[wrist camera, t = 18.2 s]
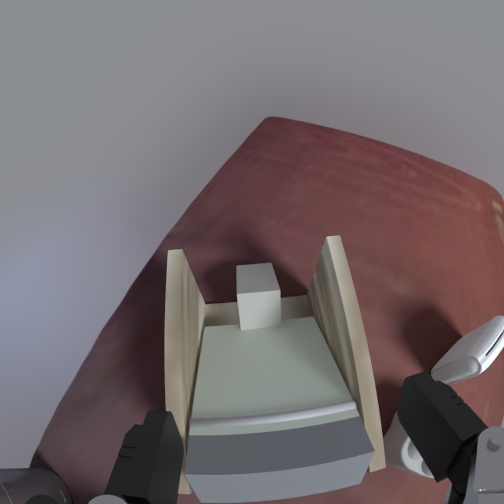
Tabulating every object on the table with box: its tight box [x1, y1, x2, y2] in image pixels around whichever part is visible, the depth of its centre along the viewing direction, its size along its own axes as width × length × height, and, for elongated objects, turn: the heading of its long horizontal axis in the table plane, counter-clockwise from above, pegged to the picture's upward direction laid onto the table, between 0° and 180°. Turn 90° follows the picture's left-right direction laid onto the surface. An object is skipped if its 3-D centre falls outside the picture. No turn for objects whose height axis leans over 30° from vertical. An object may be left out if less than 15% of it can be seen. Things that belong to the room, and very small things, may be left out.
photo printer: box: [431, 316, 504, 385], centre depth 31 cm, size 10×4×12 cm, turn 119°
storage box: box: [165, 236, 386, 494], centre depth 30 cm, size 18×24×16 cm
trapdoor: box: [184, 316, 375, 503], centre depth 27 cm, size 14×22×6 cm
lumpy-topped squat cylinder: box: [383, 411, 434, 478], centre depth 27 cm, size 10×13×9 cm
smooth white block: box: [237, 263, 281, 330], centre depth 39 cm, size 5×5×9 cm
